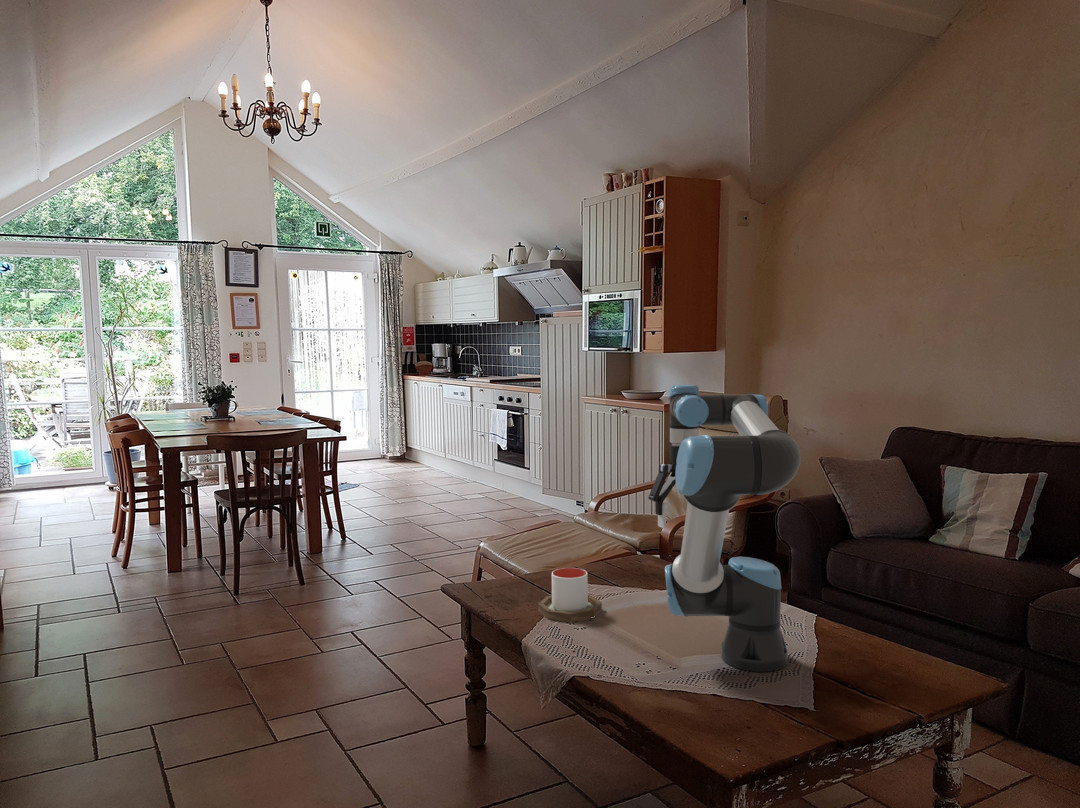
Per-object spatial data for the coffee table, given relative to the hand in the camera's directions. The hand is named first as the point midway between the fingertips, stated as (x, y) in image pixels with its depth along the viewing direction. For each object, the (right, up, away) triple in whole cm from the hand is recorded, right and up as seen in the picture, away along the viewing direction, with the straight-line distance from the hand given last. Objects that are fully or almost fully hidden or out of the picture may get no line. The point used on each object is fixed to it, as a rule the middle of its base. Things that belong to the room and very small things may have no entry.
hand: (684, 524), depth 200 cm
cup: (-29, -26, +13) cm, 41 cm away
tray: (-29, -26, +13) cm, 42 cm away
